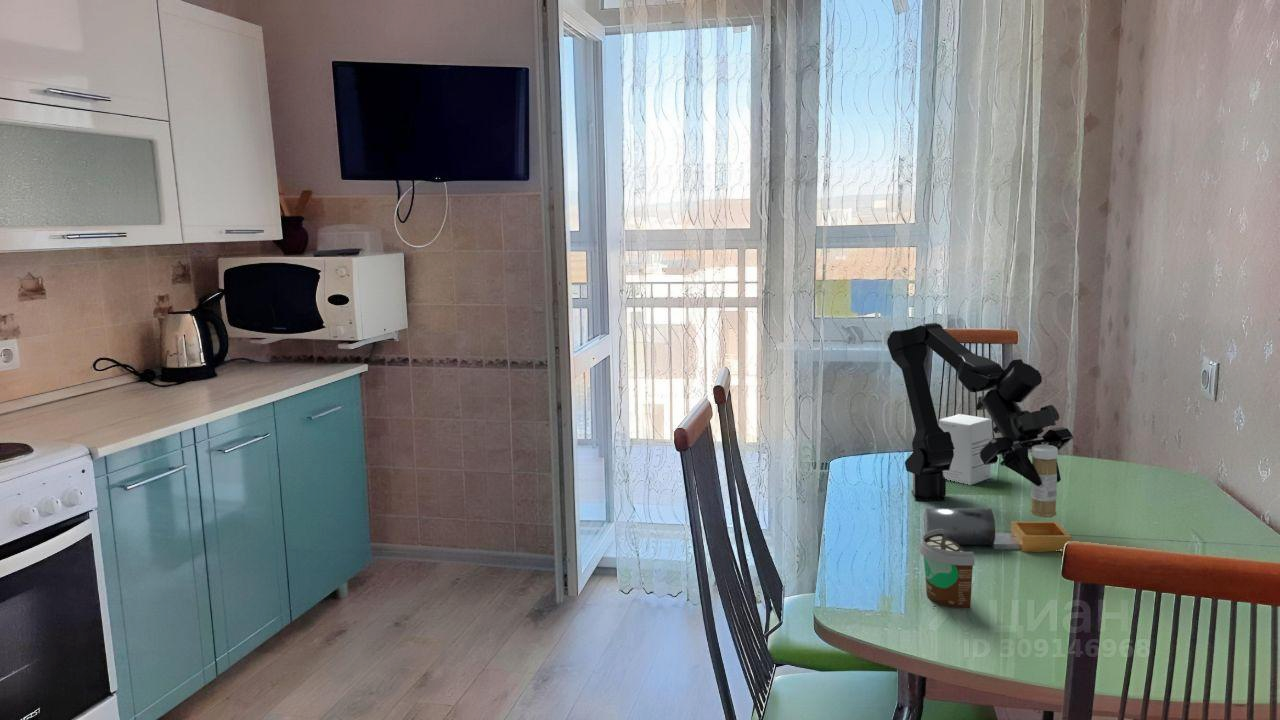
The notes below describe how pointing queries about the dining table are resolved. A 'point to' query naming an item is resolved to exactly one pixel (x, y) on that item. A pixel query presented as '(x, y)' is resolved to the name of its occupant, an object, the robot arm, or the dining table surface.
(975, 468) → the supplement box
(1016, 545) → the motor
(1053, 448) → the sprinkles bottle
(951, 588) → the food container
